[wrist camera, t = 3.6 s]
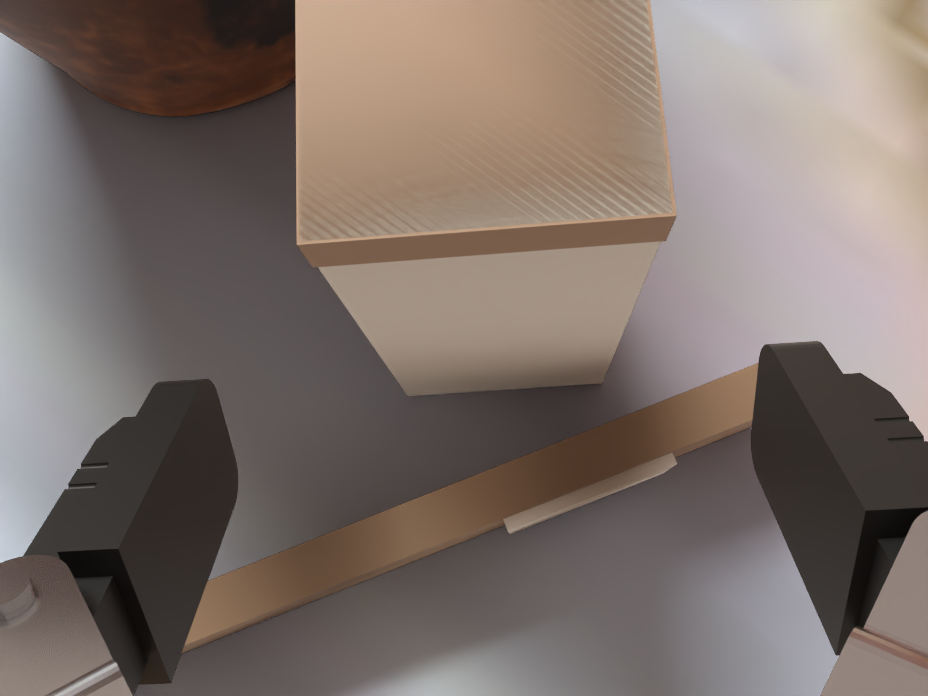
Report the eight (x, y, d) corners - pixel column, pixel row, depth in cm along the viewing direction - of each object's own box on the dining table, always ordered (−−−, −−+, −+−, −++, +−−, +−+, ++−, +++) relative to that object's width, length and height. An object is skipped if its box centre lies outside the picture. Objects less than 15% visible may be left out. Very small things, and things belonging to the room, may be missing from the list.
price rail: (-79, 769, 23) (-168, 799, 20) (-91, 712, 23) (-178, 733, 20) (755, 437, 23) (788, 418, 20) (731, 387, 24) (759, 361, 21)
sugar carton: (604, 384, 24) (676, 215, 12) (406, 398, 24) (296, 244, 13) (586, 200, 25) (636, -107, 14) (399, 215, 26) (295, -73, 14)
